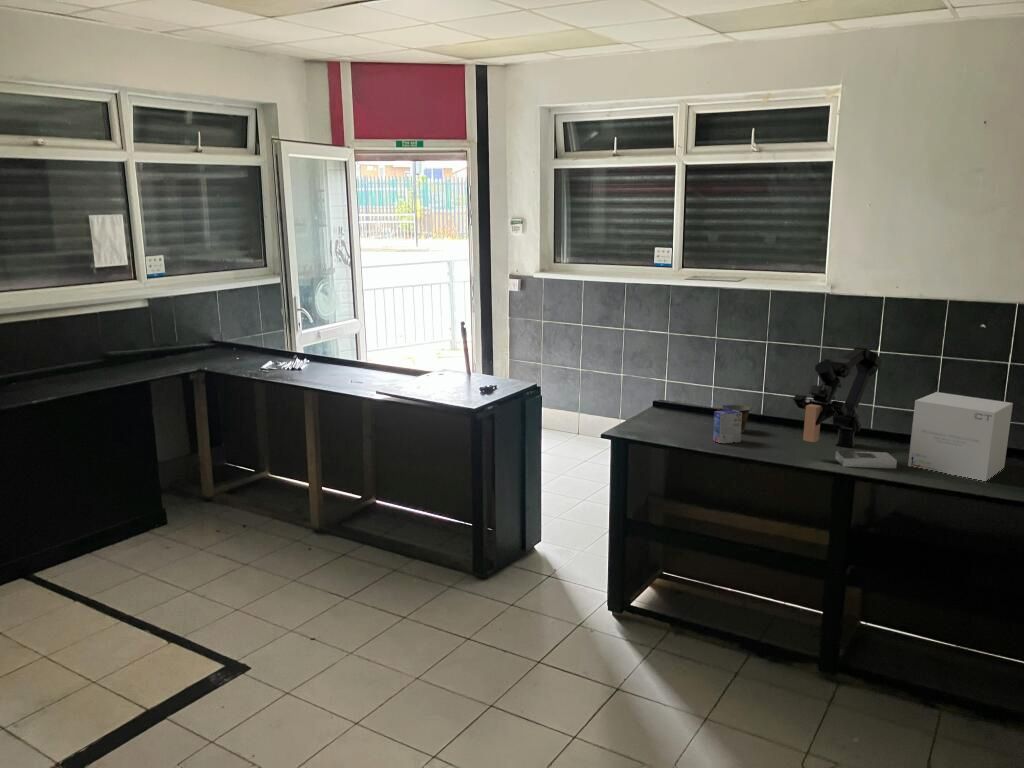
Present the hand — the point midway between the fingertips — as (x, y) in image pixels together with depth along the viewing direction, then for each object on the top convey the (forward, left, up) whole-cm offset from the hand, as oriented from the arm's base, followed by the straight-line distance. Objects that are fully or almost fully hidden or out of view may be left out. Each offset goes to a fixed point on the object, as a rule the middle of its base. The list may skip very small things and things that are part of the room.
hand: (810, 423), depth 292 cm
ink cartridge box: (-9, -32, -14) cm, 36 cm away
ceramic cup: (-27, -34, -14) cm, 46 cm away
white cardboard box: (-15, +48, -14) cm, 52 cm away
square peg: (-1, 0, -7) cm, 7 cm away
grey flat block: (-4, +19, -13) cm, 24 cm away
